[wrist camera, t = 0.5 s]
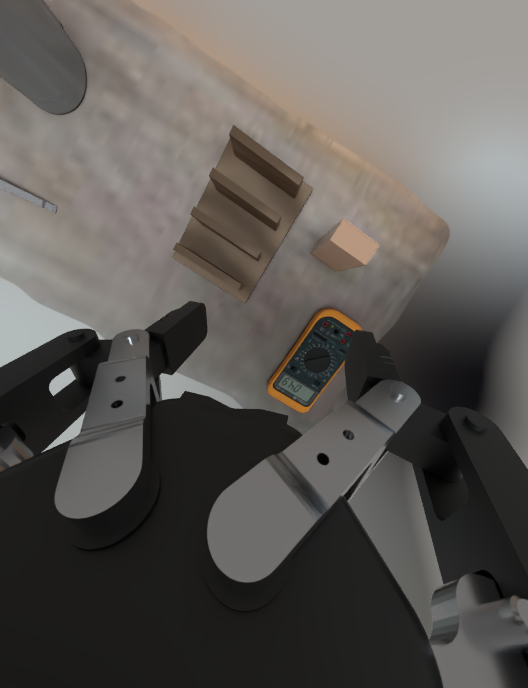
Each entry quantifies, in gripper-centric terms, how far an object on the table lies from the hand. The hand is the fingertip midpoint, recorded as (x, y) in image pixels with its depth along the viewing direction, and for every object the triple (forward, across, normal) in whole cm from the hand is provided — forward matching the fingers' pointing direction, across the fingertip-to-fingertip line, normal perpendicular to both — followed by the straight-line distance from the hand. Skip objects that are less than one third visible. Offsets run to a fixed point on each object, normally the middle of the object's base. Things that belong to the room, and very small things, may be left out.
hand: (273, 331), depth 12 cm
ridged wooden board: (+26, +11, -2) cm, 29 cm away
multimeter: (+23, -4, +18) cm, 29 cm away
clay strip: (+28, -3, +1) cm, 28 cm away
